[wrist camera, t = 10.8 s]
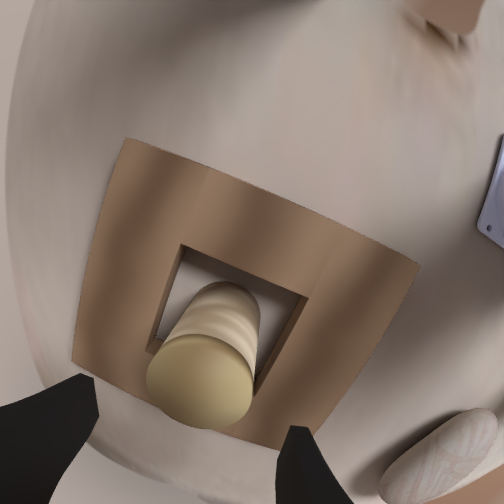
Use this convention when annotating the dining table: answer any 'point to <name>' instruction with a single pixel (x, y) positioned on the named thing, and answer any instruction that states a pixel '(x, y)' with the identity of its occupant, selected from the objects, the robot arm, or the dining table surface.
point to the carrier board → (247, 259)
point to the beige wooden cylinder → (208, 359)
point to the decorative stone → (440, 458)
